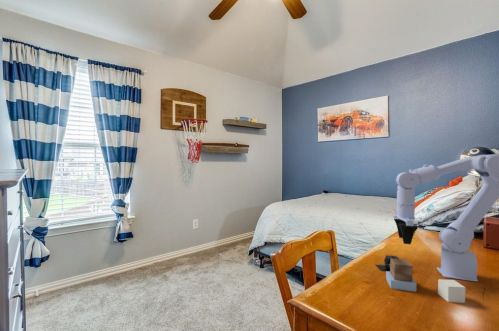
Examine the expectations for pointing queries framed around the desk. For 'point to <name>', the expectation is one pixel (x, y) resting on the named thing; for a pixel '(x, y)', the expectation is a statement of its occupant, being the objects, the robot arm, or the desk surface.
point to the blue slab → (400, 283)
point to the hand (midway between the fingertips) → (404, 240)
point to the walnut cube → (401, 269)
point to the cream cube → (451, 291)
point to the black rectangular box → (386, 263)
